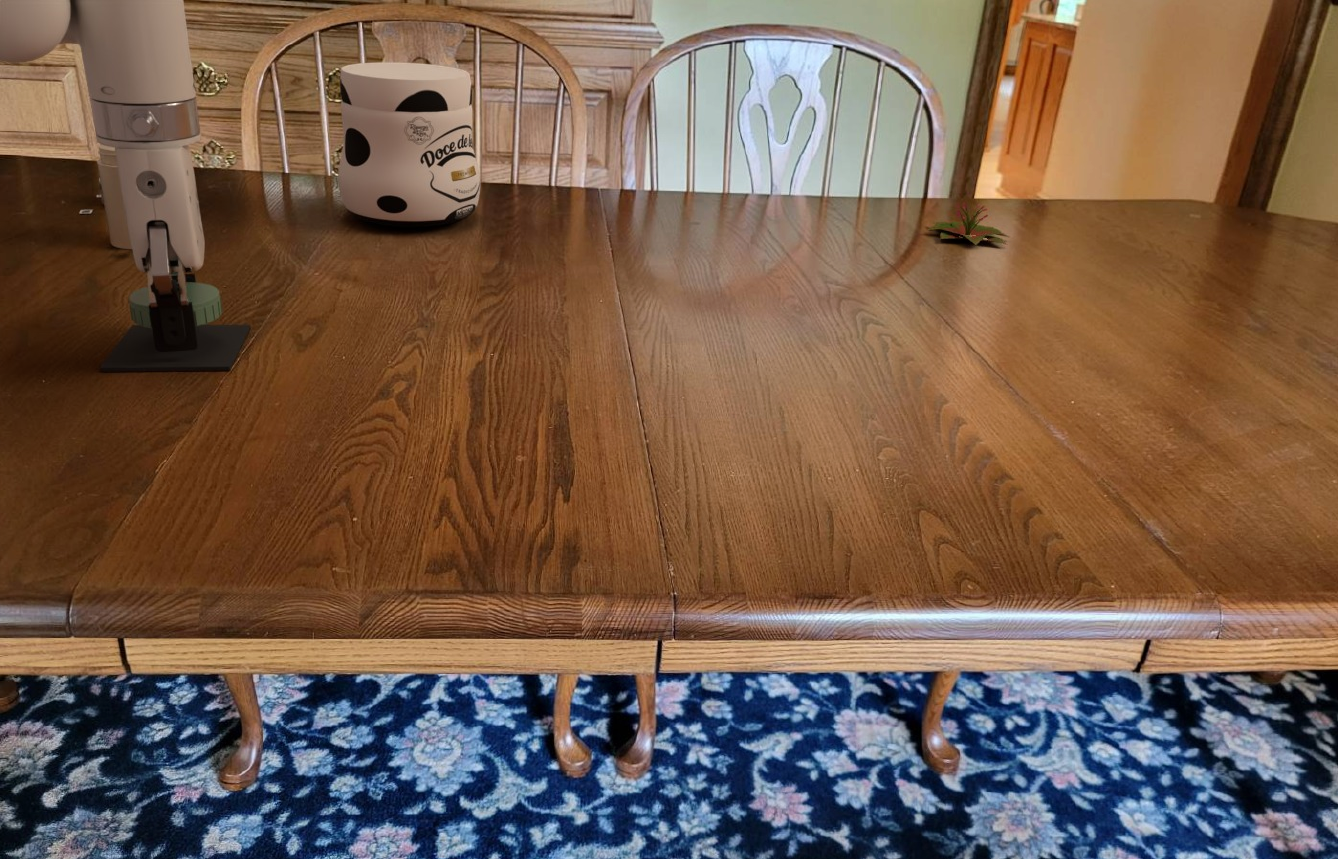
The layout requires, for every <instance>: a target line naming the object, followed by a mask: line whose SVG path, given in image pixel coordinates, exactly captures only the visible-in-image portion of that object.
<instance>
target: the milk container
mask: <svg viewBox="0 0 1338 859" xmlns="http://www.w3.org/2000/svg"><path fill="white" fill-rule="evenodd" d="M339 74H340V76H339V80H340V81H339V91H340V98H341V102H340V114H341V123H342V136H343V138H342V140H343V142H342V149H341V150H342V151H341V155H340V161H339V165H338V170H337V172H338V174H337V178H338V179H337V181H338V182H337V183H338V188H339V193H340V197H341V198H340V199H341V201H342V204H343V206H344V208H345V209H346V210H347V212H349V213H350V214H351V215H353V216H354V217H356V218H358V219H360V220H361V221H366V222H370V223H373V224H377V225H381V226H391V227H392V226H393V227H397V228H424V227H438V226H443V225H447V224H453V223H457V222H459V221H462V220H465V219H467V218H468V217H469V216H471V215H472V214H473V213H474V212H475V211H476V208H477V207H478V205H479V199H480V195H481V173H480V169H479V165H478V162H477V158H476V154H475V150H474V143H473V106H472V105H473V87H472V79H471V74H470V73H469V72H468V71H467V70H465V69H462V68H458V67H453V66H447V65H440V64H431V63H430V64H429V63H418V62H401V61H400V62H398V61H397V62H394V61H393V62H391V61H390V62H389V61H388V62H387V61H386V62H385V61H384V62H381V61H380V62H378V61H377V62H360V63H353V64H347V65H345V66H342V67H341V68H340V73H339Z"/></svg>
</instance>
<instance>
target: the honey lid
mask: <svg viewBox="0 0 1338 859" xmlns="http://www.w3.org/2000/svg"><path fill="white" fill-rule="evenodd" d="M177 283H178V282H177ZM186 286H187V295H188V302H192V305H193V312H194V319H195V326H199V325H207V324H209V323H212V322H214V321H216V320H218V319H219V318H220V317H221V316H222V314H223V313H224V312H223V306H222V305H223V303H222V298H221V295H220V290H219V288H217V287H216V286H213V285H211V284H208V283H203V282H196V283H195V282H186ZM128 296H129V297H128V300H129V301H128V302H129V312H130V317H131V320H132V321H133V323H134V324H135V325H140V326H144V327H148V328H152V324H151V318H150V312H149V304H150V299H149V289H148V285H147V286H145V287H144V286H143V287H141V288H139V289H136V290H135V291H133V292H131V293H130V294H129V295H128Z"/></svg>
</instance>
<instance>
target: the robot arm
mask: <svg viewBox="0 0 1338 859" xmlns="http://www.w3.org/2000/svg"><path fill="white" fill-rule="evenodd" d="M184 3H185V2H184V0H0V62H4V63H15V64H16V63H28V62H33V61H36V60H38V59H42V58H43V57H45V56H47V55H49V54H50V53H51V52H52V51H54V50H55V49H56V48H57V47H58V45H63V44H78V46H79V47H80V52H81V57H82V64H83V70H84V74H85V75H84V76H85V81H86V88H87V92H88V97H89V102H90V103H89V104H90V109H91V114H92V120H93V127H94V131H95V138H96V142H97V143H98V144H99V145H101V144H102V145H105V146H109V147H115V154H116V160H117V167H118V174H119V180H120V186H121V192H122V198H123V204H124V210H125V215H126V221H127V226H128V231H129V236H130V241H131V246H132V249H131V251H132V254H133V259H134V263H135V268H136V269H137V270H139V271H140V272H142V273H144V274H146V280H147V286H148V289H149V299H150V304H149V312H150V318H151V324H152V330H153V336H154V343H155V348H156V350H157V351H158V352H172V351H187V350H195V349H197V347H198V340H197V333H196V326H195V319H194V312H193V305H192V302H188V295H187V286H186V282H195V283H197V280H196V273H193V271H197V272H198V271H199V270H201V268H202V267H203V266H204V262H205V261H204V260H205V249H206V248H205V246H206V244H205V243H206V242H205V236H204V229H203V224H202V216H201V210H200V202H199V196H198V189H197V183H196V176H195V175H196V174H195V169H194V164H193V159H192V154H191V150H190V146H191V145H194V144H197V143H200V142H201V141H202V133H201V126H200V118H199V109H198V103H197V102H198V101H197V94H196V87H195V79H194V72H193V65H192V57H191V50H190V42H189V34H188V28H187V18H186V11H185V4H184ZM192 268H193V269H192ZM177 282H178V283H177Z"/></svg>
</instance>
